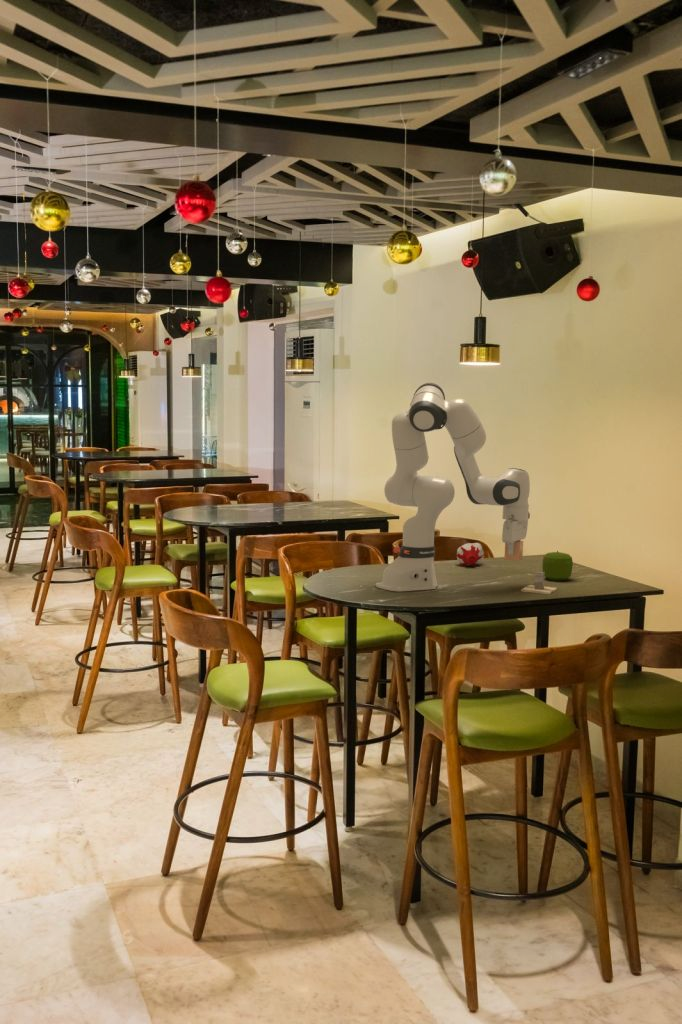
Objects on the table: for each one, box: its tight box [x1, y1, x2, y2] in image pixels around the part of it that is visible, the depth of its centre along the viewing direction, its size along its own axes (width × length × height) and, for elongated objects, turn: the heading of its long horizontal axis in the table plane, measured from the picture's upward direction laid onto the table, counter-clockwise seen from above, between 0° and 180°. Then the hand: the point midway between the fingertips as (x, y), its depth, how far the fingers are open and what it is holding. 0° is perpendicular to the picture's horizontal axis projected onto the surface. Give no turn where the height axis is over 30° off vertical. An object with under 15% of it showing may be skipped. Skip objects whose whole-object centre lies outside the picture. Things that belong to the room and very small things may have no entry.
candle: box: [455, 542, 485, 567], centre depth 370 cm, size 9×11×15 cm
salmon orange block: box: [503, 540, 524, 562], centre depth 323 cm, size 5×5×7 cm
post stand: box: [520, 571, 558, 595], centre depth 318 cm, size 10×10×6 cm
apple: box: [542, 550, 573, 582], centre depth 340 cm, size 11×11×11 cm
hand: (513, 553), depth 323 cm, fingers closed on salmon orange block, 5 cm apart
